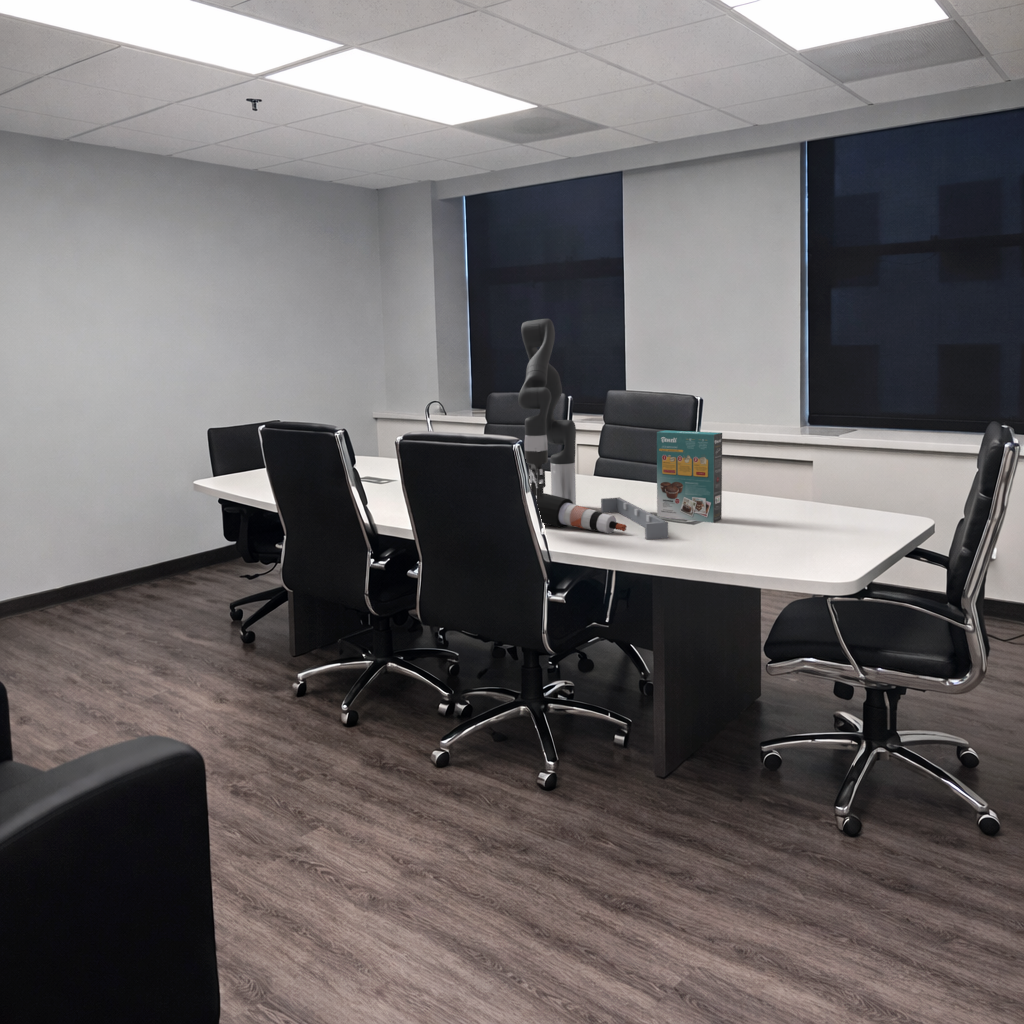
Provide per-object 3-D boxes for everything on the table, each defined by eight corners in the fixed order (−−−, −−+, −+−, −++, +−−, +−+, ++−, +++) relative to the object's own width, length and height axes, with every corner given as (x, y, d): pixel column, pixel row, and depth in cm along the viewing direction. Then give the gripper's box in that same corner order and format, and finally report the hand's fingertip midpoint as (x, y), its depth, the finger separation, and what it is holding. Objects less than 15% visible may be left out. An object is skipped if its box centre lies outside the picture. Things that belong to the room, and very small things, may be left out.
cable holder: (601, 512, 338) (601, 498, 337) (619, 510, 340) (619, 497, 339) (646, 539, 291) (646, 523, 290) (667, 537, 292) (667, 522, 291)
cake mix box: (721, 519, 317) (722, 432, 312) (713, 522, 313) (713, 434, 307) (665, 513, 331) (665, 430, 326) (657, 516, 327) (656, 432, 321)
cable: (619, 549, 298) (613, 525, 293) (536, 527, 319) (529, 504, 313) (635, 530, 304) (630, 506, 298) (553, 510, 325) (546, 487, 319)
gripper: (520, 447, 308) (521, 495, 311) (529, 451, 294) (530, 501, 297) (542, 446, 309) (543, 493, 312) (552, 450, 296) (553, 500, 298)
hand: (537, 497), depth 305 cm, fingers open, 8 cm apart
